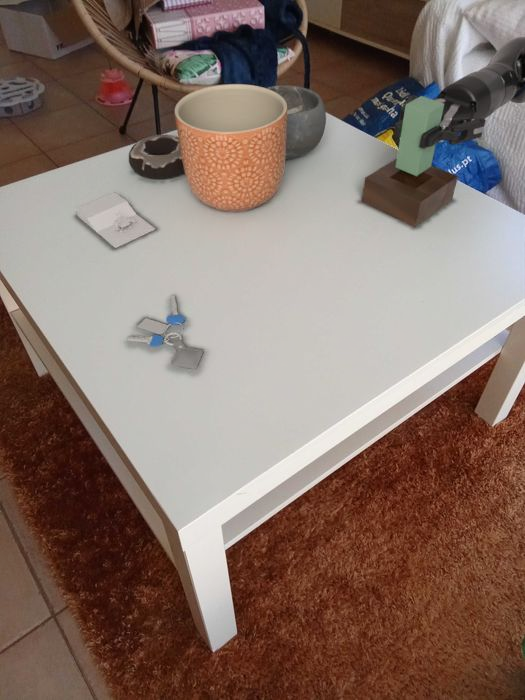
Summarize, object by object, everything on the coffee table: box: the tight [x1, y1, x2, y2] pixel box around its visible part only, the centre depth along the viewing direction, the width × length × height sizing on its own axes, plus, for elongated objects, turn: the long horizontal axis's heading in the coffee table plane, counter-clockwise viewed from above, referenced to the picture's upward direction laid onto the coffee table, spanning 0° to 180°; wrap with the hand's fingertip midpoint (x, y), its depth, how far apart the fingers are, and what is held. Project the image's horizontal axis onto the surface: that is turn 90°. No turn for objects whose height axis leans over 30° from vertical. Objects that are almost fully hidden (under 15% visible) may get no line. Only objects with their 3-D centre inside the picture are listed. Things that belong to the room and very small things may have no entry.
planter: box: [174, 83, 287, 213], centre depth 90 cm, size 17×17×15 cm
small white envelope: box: [75, 191, 156, 249], centre depth 90 cm, size 7×12×2 cm, turn 41°
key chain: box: [126, 294, 204, 370], centre depth 72 cm, size 14×8×1 cm, turn 24°
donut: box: [128, 134, 185, 180], centre depth 102 cm, size 12×12×4 cm
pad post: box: [396, 95, 444, 176], centre depth 86 cm, size 4×4×10 cm
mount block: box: [361, 157, 459, 228], centre depth 92 cm, size 11×11×4 cm
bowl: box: [265, 84, 327, 160], centre depth 102 cm, size 15×15×10 cm
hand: (409, 136), depth 84 cm, fingers closed on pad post, 4 cm apart
